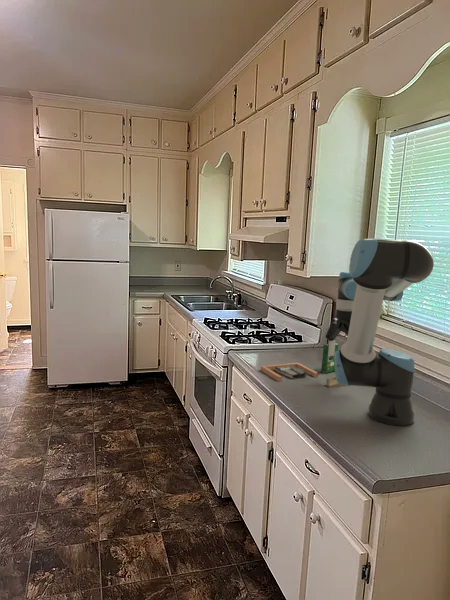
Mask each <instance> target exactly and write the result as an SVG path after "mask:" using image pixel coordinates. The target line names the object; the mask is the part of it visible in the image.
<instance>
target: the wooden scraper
mask: <svg viewBox="0 0 450 600" xmlns="http://www.w3.org/2000/svg"><path fill="white" fill-rule="evenodd" d="M338 350H339V351H341V349H338ZM325 385H326V386H327V387H329V388H333V387H341V386H344V385H342V384H339V383H338V382H337V380H336V376H335V377H328V378H327V377H326V383H325Z"/></svg>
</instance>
